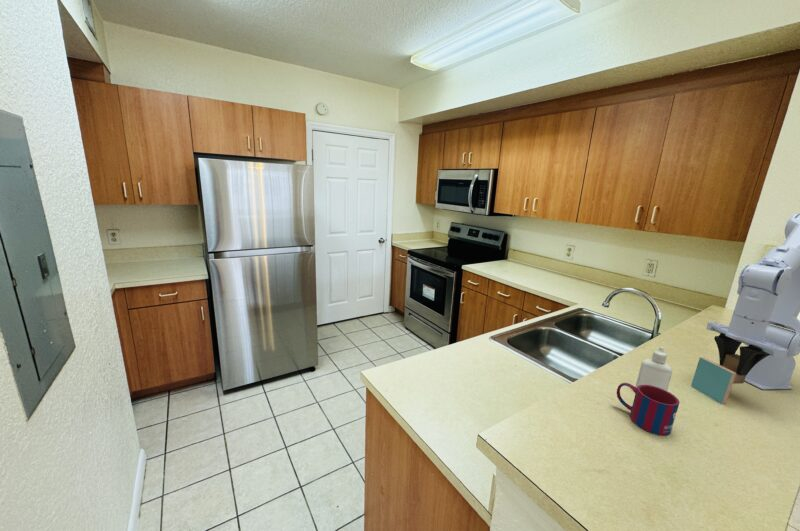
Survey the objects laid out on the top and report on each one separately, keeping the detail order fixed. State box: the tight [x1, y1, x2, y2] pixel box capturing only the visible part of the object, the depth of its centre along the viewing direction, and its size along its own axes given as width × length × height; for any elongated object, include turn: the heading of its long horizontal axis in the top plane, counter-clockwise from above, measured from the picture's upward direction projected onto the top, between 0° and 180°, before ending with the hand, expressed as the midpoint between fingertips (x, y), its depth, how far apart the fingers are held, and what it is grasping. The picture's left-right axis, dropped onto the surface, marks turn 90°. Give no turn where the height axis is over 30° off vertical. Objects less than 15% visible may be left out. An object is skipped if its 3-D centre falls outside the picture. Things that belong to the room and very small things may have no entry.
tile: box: [690, 356, 736, 405], centre depth 77 cm, size 1×7×8 cm, turn 7°
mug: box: [616, 382, 680, 436], centre depth 67 cm, size 7×10×7 cm
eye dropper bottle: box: [635, 346, 673, 391], centre depth 75 cm, size 4×6×12 cm
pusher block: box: [723, 353, 746, 385], centre depth 77 cm, size 3×3×6 cm
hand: (732, 370), depth 77 cm, fingers closed on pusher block, 3 cm apart
